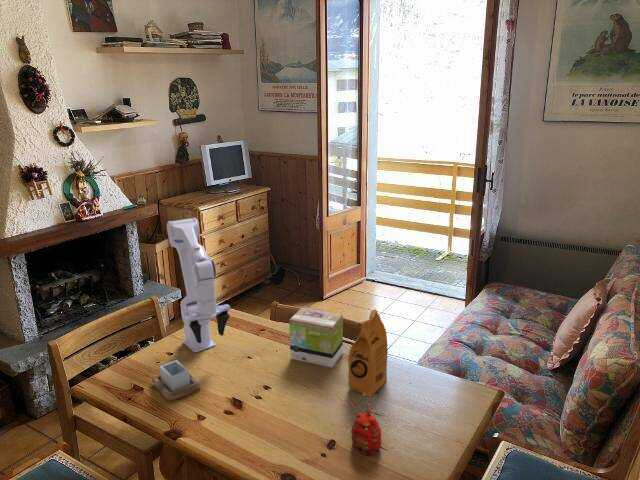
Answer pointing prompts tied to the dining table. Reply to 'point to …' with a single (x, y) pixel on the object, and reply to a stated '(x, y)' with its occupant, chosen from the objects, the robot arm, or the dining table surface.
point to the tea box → (316, 337)
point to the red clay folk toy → (366, 432)
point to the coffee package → (368, 356)
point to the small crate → (174, 376)
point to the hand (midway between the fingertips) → (210, 338)
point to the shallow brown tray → (177, 393)
